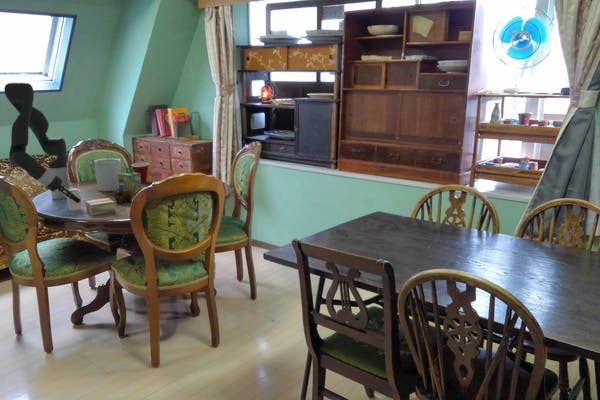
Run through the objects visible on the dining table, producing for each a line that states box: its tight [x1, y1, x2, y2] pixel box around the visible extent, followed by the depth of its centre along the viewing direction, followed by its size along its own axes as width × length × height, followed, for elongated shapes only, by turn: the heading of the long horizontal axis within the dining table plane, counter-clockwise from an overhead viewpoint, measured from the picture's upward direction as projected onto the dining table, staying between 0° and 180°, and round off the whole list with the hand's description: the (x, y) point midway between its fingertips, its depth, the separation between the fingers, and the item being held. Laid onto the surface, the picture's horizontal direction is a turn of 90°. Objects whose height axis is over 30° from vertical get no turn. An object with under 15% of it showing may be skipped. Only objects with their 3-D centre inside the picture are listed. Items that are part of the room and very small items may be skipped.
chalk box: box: [118, 167, 142, 195], centre depth 288 cm, size 9×9×15 cm
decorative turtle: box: [113, 188, 134, 205], centre depth 268 cm, size 10×15×8 cm, turn 47°
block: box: [85, 197, 116, 216], centre depth 250 cm, size 11×11×5 cm
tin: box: [66, 188, 83, 212], centre depth 253 cm, size 6×6×10 cm
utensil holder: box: [94, 157, 122, 192], centre depth 299 cm, size 15×15×18 cm
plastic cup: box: [131, 161, 150, 183], centre depth 319 cm, size 11×11×12 cm
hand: (77, 200), depth 254 cm, fingers closed on tin, 5 cm apart
